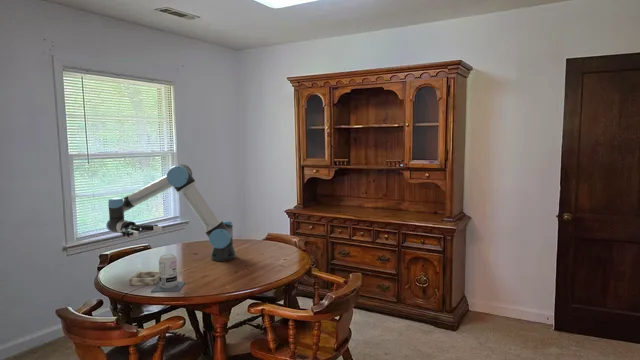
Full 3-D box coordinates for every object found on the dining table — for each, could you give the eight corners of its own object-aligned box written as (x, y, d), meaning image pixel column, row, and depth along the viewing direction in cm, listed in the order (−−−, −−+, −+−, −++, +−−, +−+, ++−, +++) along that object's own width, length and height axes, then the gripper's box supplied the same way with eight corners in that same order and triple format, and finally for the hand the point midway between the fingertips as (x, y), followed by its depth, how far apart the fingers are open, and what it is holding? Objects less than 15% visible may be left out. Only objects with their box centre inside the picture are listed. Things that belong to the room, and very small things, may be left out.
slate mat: (185, 282, 215) (185, 281, 215) (178, 291, 202) (178, 290, 202) (159, 283, 214) (159, 282, 214) (151, 292, 201) (150, 291, 201)
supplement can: (162, 283, 212) (161, 254, 211) (179, 283, 213) (178, 253, 211) (157, 289, 204) (156, 258, 203) (175, 288, 205) (174, 258, 203)
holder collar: (163, 276, 225) (163, 270, 225) (156, 284, 212) (155, 278, 212) (138, 276, 224) (138, 271, 224) (129, 285, 211) (129, 279, 211)
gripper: (147, 230, 243) (170, 234, 231) (105, 238, 222) (127, 244, 210) (147, 217, 242) (169, 220, 230) (104, 224, 222) (126, 229, 210)
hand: (149, 231), depth 220 cm, fingers open, 13 cm apart
